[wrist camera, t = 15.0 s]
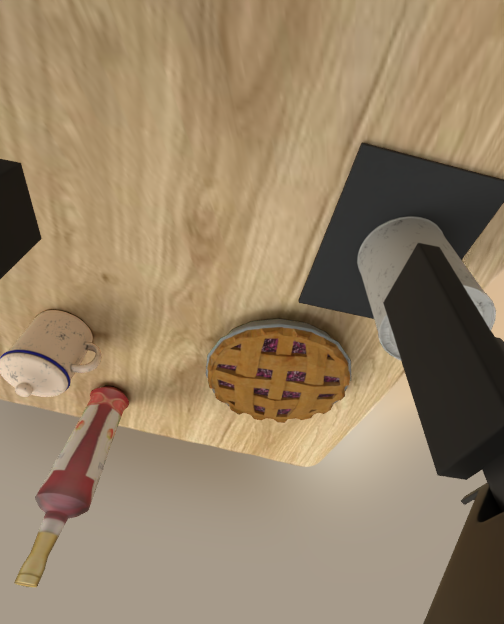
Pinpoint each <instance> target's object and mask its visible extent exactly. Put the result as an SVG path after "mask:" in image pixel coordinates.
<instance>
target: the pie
mask: <svg viewBox="0 0 504 624" xmlns="http://www.w3.org/2000/svg"><path fill="white" fill-rule="evenodd" d="M206 376H207V378H208V383H209V387H210V388H212V390H213V392H214V393H215V396H216V398H217V399H218V400H219V401H221V402H224V403H226V404H227V405H228V406H230V409H231V410H232V411H234V412H236V413H237V414H242V413H247V414H250V415H251V416H252V417H253V418H254V419H257V420H263V419H265V418H270V419H274V420H276V421H277V422H283V423H285V421H286V420H287V419H293V418H298V419H300V420H304V419H308V418H311V417H312V416H313V414H316V413H322V414H324V413H326V412H328V411H329V410H331V408H332V405H333V404H334V403H336V402H337V401H338V400H341V399H342V398H343V397H344V396H345V391H346V389H347V387H348V385H349V383H350V381H351V360H350V359H349V357H348V356H347V354H346V353H345V351H344V350H343V348H342V347H341V346H340V344H339V343H338V342H337V341H335V340H333V339H331V337H330V336H329V335H328V334H327V333H326V332H324V331H322V330H320V329H318V328H316V327H314V326H312V325H310V324H308V323H303V322H297V321H291V320H285V319H270V320H261V321H252V322H249V323H247V324H244V325H242V326H240V327H237V328H235V329H232V330H231V331H230V333H229V334H228V335H227V336H224V337H222V338H221V339H220V340H219V341H218V342H217V344H216V345H215V346H214V348H213V349H212V350H211V351H210V353H209V354H208V356H207V366H206Z"/></svg>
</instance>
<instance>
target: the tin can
mask: <svg viewBox="0 0 504 624" xmlns="http://www.w3.org/2000/svg"><path fill="white" fill-rule="evenodd" d="M418 243H423V244H428V245H433V246H438V247H440V249H441V250H442V252H443V253H444V255H445V257H446V258H447V260H448V262H449V263H450V265H451V266H452V268H453V270H454V271H455V273H456V275H457V276H458V278H459V280H460V281H461V283H462V284H463V286H464V288H465V289H466V291H467V293H468V294H469V296H470V297H471V299H472V301H473V302H474V304H475V306H476V307H477V309H478V311H479V312H480V314H481V315H482V317H483V319H484V320H485V322H486V324H487V325H488V327H489V328H490V330H491V329H492V327H493V324H494V321H495V314H496V310H495V307H494V304H493V301H492V300H491V299H490V298H489V296H488V295H487V294H486V293H485V292H484V291H483V290H482V288H481V287H480V285H479V284H478V283H477V281H476V280H475V278H474V277H473V276H472V274H471V273H470V271H469V270H468V269H467V267H466V266H465V264H464V263H463V262H462V260H461V259H460V258H459V256H458V255H457V253H456V252H455V251H454V249H453V248H452V246H451V245H450V244H449V242H448V241H447V239H446V238H445V237H444V235H443V232H442V231H441V230H440V228H439V227H438V226H437V225H436V224H435V223H433V222H432V221H430V220H428V219H425V218H422V217H414V216H407V217H399V218H396V219H393V220H390V221H387V222H386V223H384V224H382V225H380V226H378V227H377V228H376V229H374V230H373V231H372V232H371V233H370V234H369V235H368V236H367V237H366V238H365V240H364V241H363V243H362V245H361V247H360V249H359V253H358V260H357V264H358V268H359V271H360V273H361V275H362V279H363V282H364V286H365V289H366V292H367V296H368V299H369V303H370V306H371V309H372V313H373V316H374V320H375V323H376V326H377V330H378V336H379V340H380V343H381V345H382V347H383V348H384V350H385V351H386V352H388V353H389V354H390V355H391V356H393V357H395V358H397V359H399V360H401V358H400V354H399V351H398V348H397V345H396V342H395V339H394V336H393V332H392V329H391V326H390V323H389V320H388V317H387V313H386V310H385V307H384V304H383V302H384V300H385V299H386V297H387V295H388V293H389V292H390V290H391V288H392V286H393V285H394V283H395V281H396V280H397V278H398V276H399V274H400V273H401V271H402V269H403V268H404V266H405V264H406V262H407V261H408V259H409V257H410V256H411V254H412V252H413V250H414V249H415V247H416V245H417V244H418Z"/></svg>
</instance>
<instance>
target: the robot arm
mask: <svg viewBox="0 0 504 624" xmlns="http://www.w3.org/2000/svg"><path fill="white" fill-rule="evenodd" d="M40 240H41V235H40V231H39V228H38V224H37V220H36V217H35V213H34V209H33V206H32V202H31V198H30V195H29V191H28V187H27V184H26V180H25V176H24V173H23V169H22V165H21V163H18V162H13V161H8V160H3V159H0V279H1V278H2V277H3V276H4V275H5V274H6V273H7V272H8V271H9V270H10V269H11V268H12V267H13V266H14V265H15V264H16V263H17V262H18V261H19V260H20V259H21V258H22V257H23V256H24V255H25V254H26V253H27V252H28V251H29V250H30V249H31V248H32V247H33V246H35V245H36V244H37V243H38V242H39V241H40ZM383 304H384V307H385V310H386V313H387V317H388V320H389V323H390V326H391V329H392V332H393V336H394V339H395V342H396V345H397V348H398V351H399V354H400V358H401V361H402V364H403V367H404V370H405V373H406V377H407V380H408V383H409V386H410V389H411V392H412V396H413V399H414V402H415V405H416V408H417V411H418V415H419V418H420V421H421V424H422V427H423V430H424V434H425V437H426V440H427V443H428V446H429V449H430V452H431V456H432V459H433V462H434V465H435V468H436V471H437V474H438V475H439V476H446V477H452V478H459V479H465V480H467V479H468V478H470V477H471V476H473V475H474V474H476V473H477V472H479V471H480V470H483V472H484V475H485V477H486V480H487V482H488V483H486V484H484V485H483V486H481V487H479V488H478V489H476V490H475V491H473V492H471V493H470V494H468V495H466V496H465V497H464V498H463V499H462V500H461V502H462V503H463V504H467V503H469V502H470V501H472V500H475V501H474V503H473V506H472V508H471V510H470V513H469V515H468V518H467V520H466V522H465V525H464V527H463V530H462V532H461V535H460V537H459V539H458V542H457V544H456V546H455V549H454V551H453V554H452V556H451V559H450V561H449V564H448V566H447V568H446V571H445V573H444V576H443V578H442V580H441V583H440V585H439V587H438V590H437V593H436V595H435V597H434V599H433V602H432V604H431V607H430V609H429V611H428V614H427V617H426V619H425V621H424V624H504V342H503V340H502V339H500V338H496V337H494V335H493V333H492V332H491V330H490V328H489V327H488V325H487V324H486V322H485V320H484V319H483V317H482V315H481V314H480V312H479V311H478V309H477V307H476V306H475V304H474V302H473V301H472V299H471V297H470V296H469V294H468V293H467V291H466V289H465V288H464V286H463V284H462V283H461V281H460V280H459V278H458V276H457V275H456V273H455V271H454V270H453V268H452V266H451V265H450V263H449V262H448V260H447V258H446V257H445V255H444V253H443V252H442V250H441V249H440V247H438V246H433V245H428V244H423V243H418V244H417V245H416V247H415V249H414V250H413V252H412V254H411V256H410V257H409V259H408V261H407V262H406V264H405V266H404V268H403V269H402V271H401V273H400V274H399V276H398V278H397V280H396V281H395V283H394V285H393V286H392V288H391V290H390V292H389V293H388V295H387V297H386V299H385V300H384V302H383Z"/></svg>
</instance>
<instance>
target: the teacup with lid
mask: <svg viewBox="0 0 504 624" xmlns="http://www.w3.org/2000/svg"><path fill="white" fill-rule="evenodd" d="M92 341H93V336H92V333H91V331H90V329H89V327H88V326H87V325H86V324H85V323H84V322H83V321H82V320H80V319H79V318H77V317H76V316H74V315H72V314H69V313H66V312H63V311H58V310H48V311H44V312H42V313H40V314H38V315H37V316H36V317H35V319H34V320H33V321H32V322H31V324H30V325H29V326H28V327H27V329H26V330H25V331H24V332H23V333H22V335H21V336H20V337H19V338H18V340H17V341H16V342H15V343H14V344H13V346H12V347H11V348H10V349H9V351H8V352H6V353H4V354H3V355H2V356H1V357H0V374H1V375H2V377H3V378H4V379H5V380H6V381H7V382H8V383H9V384H11V385H12V386H14V387H15V392H16V393H17V394H18V395H20V396H23V397H28V396H30V395H31V394H32V395H36V396H42V397H52V396H57V395H59V394H61V393H63V392H64V391H66V390H67V389H68V388H69V386H70V380H71V379H72V377H73V375H74V374H75V372H78V373H85V372H89V371H92V370H94V369H95V368H96V367H97V366H98V365H99V364H100V362H101V359H102V354H101V350H100V348H99V347H98V346H97V345H95V344H93V343H92ZM88 350H91V351H94V352H95V353H96V356H95V358H94V360H93V361H92V362H90V363H88V364H85V365H80V363H81V361H82V360H83V358H84V356H85V355H86V353H87V351H88Z"/></svg>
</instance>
